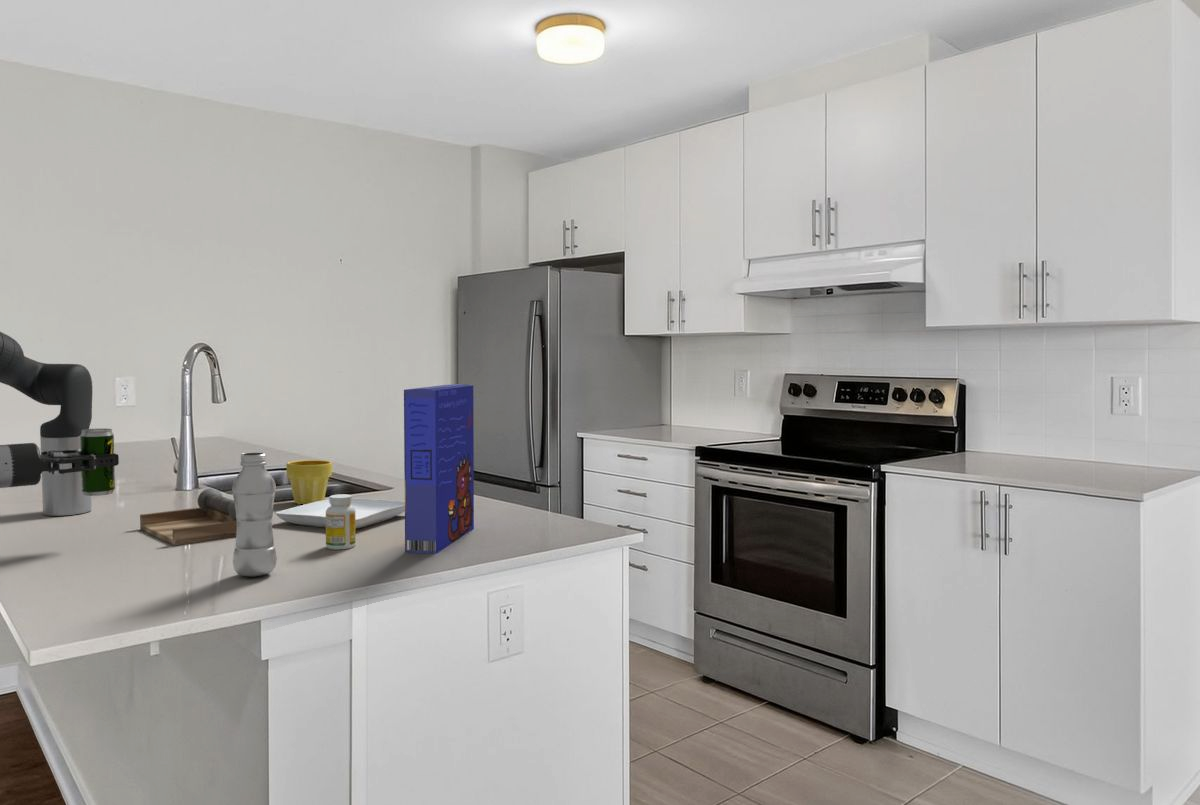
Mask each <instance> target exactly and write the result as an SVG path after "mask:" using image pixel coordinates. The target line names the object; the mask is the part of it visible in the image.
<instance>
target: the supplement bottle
mask: <svg viewBox="0 0 1200 805" xmlns="http://www.w3.org/2000/svg"><path fill="white" fill-rule="evenodd" d="M352 498H353V497H352V495H351V494H343V493H342V494H338V493H337V494H332V495H330V496H329V497H328V499H329V503H330V504H331V506H330V507H328V508H327V510H326V527H325V546H326V548H327V549H328V550H336V551H337V550H347V549H348V550H349V549H351V548H353V547H355V546H356V541H357V540H356V537H357V536H356V529H355V508H354V507H353V506H350V504H351V502H352Z"/></svg>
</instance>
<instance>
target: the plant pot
mask: <svg viewBox="0 0 1200 805" xmlns="http://www.w3.org/2000/svg"><path fill="white" fill-rule="evenodd" d="M332 462H333V461H329V460H322V459H300V460H293V461H288V462H287V463H286V477H287V478H288V479H289V483H290V487H291V491H292V495H293V500H294V504H296V503H298V504H297V505H300V504H309V503H313V502H317V501H322V500H326V498H325V497H326V493H327V488H328V483H329V479H330V477H332V474H333V463H332Z"/></svg>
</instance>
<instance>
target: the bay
mask: <svg viewBox="0 0 1200 805" xmlns="http://www.w3.org/2000/svg"><path fill="white" fill-rule="evenodd" d="M197 505H198V507H192V508H185V509H176V510H168V511H166V510H165V511H159V512H151V513H144V514H143V513H142V514H139V524H140V525H139V527H140V528H139V529H140V530H141V531H143V532H145V533H148V534H150V535H152V536H154V537H156V538H158V539H160V540H162V541H165V542H166V543H168V544H171V545H173V546H181V545H188V544H195V543H202V542H207V541H208V542H209V541H217V540H221V539H222V540H223V539H227V538H228V539H229V538H236V532H237V523H236V522H237V519H236V509H235V503H234V499H231V498H228V497H224V496H223V494H222V493H221V491H219V490H218V489H215V488H211V487H210V488H207V489H203V491H201V492H200V493H199V495H198V496H197Z"/></svg>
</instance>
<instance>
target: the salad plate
mask: <svg viewBox="0 0 1200 805" xmlns="http://www.w3.org/2000/svg"><path fill="white" fill-rule="evenodd" d="M330 506H331V504H330V503H329V498H328V499H324V500H322V501H317V502H313V503H309V504H305V505H297V506H294V507H290V508H287V509H283V510H278V511H275V515H276V516H277V517H278V518H279V519H281V520H283V521H285V522H287V523H291V524H295V525H299V526H308V527H319V528H326V510H327V508H328V507H330ZM350 506H353V507H354V508H355V530H356V529H361V528H365V527H369V526H371V525H375V524H377V523H381V522H385V521H387V520H390V519H393V518H394V517H397V516H399V515H402V514H403V513H405V500H403V501H402V500H393V499H380V498H365V497H364V498H363V497H352V502H351V504H350Z"/></svg>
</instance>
